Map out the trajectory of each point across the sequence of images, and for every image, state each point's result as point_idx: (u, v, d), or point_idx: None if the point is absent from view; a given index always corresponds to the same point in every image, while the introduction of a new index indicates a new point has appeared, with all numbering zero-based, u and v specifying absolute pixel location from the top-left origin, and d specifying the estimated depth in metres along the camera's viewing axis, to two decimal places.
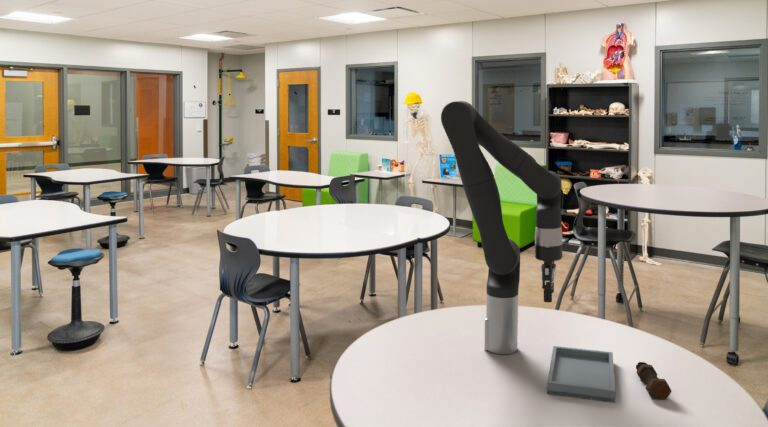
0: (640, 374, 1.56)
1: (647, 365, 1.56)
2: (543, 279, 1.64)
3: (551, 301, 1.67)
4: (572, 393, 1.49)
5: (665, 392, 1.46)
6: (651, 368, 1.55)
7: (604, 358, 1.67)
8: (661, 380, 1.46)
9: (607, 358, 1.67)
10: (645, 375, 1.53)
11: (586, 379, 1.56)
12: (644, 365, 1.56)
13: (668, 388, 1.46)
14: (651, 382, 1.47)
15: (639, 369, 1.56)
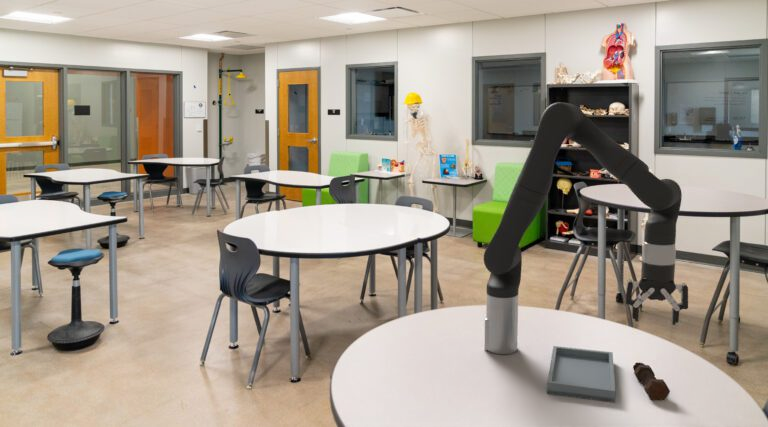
0: (638, 375, 1.56)
1: (645, 366, 1.56)
2: (687, 298, 1.46)
3: None
4: (572, 393, 1.49)
5: (664, 392, 1.46)
6: (649, 368, 1.55)
7: (604, 358, 1.67)
8: (659, 381, 1.46)
9: (607, 358, 1.67)
10: (643, 376, 1.53)
11: (586, 379, 1.56)
12: (642, 366, 1.56)
13: (667, 388, 1.46)
14: (650, 383, 1.46)
15: (637, 370, 1.56)
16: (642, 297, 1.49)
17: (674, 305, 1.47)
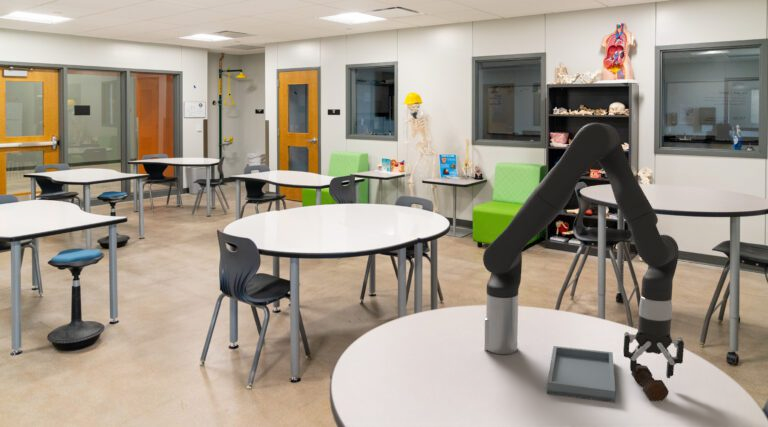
0: (635, 375, 1.55)
1: (642, 366, 1.56)
2: None
3: None
4: (572, 393, 1.49)
5: (663, 393, 1.46)
6: (646, 369, 1.55)
7: (604, 358, 1.67)
8: (658, 381, 1.46)
9: (607, 358, 1.67)
10: (641, 376, 1.53)
11: (586, 379, 1.56)
12: (639, 366, 1.56)
13: (665, 389, 1.45)
14: (648, 384, 1.46)
15: None
16: (639, 350, 1.52)
17: (669, 359, 1.50)
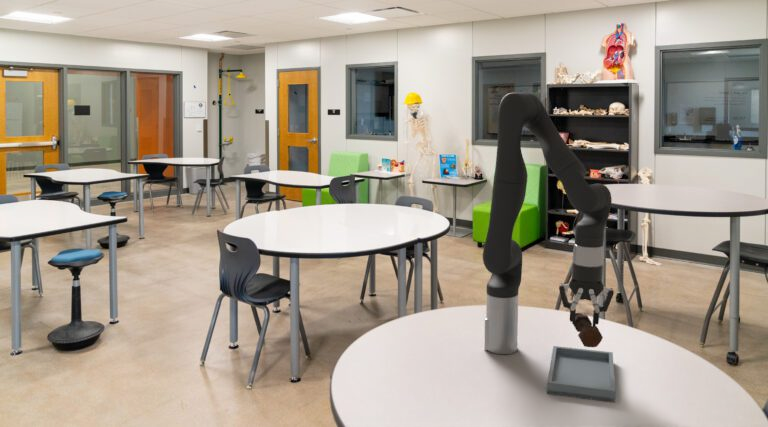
0: (575, 324, 1.59)
1: (582, 315, 1.59)
2: None
3: None
4: (572, 393, 1.49)
5: (596, 338, 1.49)
6: (586, 318, 1.58)
7: (604, 358, 1.67)
8: (593, 327, 1.49)
9: (607, 358, 1.67)
10: (579, 324, 1.56)
11: (586, 379, 1.56)
12: (579, 315, 1.59)
13: (599, 335, 1.49)
14: (583, 329, 1.49)
15: (575, 319, 1.59)
16: (575, 299, 1.55)
17: (594, 307, 1.54)
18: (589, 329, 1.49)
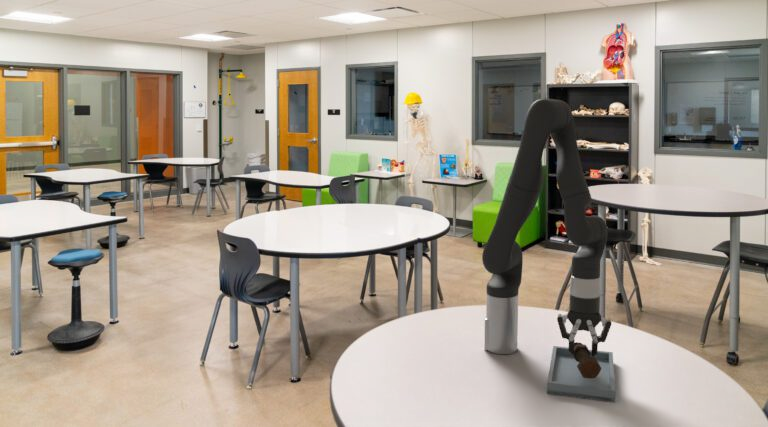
0: (574, 354, 1.60)
1: (581, 345, 1.60)
2: None
3: None
4: (572, 393, 1.49)
5: (595, 369, 1.50)
6: (585, 348, 1.59)
7: (604, 358, 1.67)
8: (591, 358, 1.50)
9: (607, 358, 1.67)
10: (578, 354, 1.57)
11: (586, 379, 1.56)
12: (578, 345, 1.60)
13: (598, 366, 1.50)
14: (582, 360, 1.51)
15: (574, 349, 1.61)
16: (573, 330, 1.56)
17: (592, 338, 1.56)
18: (588, 360, 1.50)
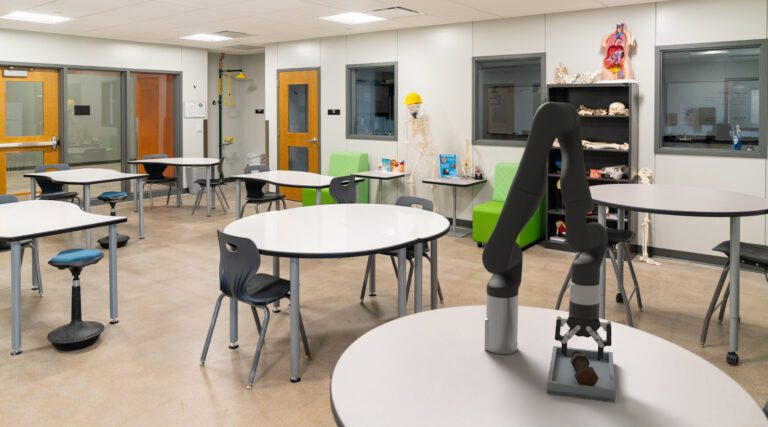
0: (573, 363, 1.60)
1: (580, 354, 1.61)
2: None
3: None
4: (572, 393, 1.49)
5: (592, 379, 1.51)
6: (583, 357, 1.60)
7: (604, 358, 1.67)
8: (588, 368, 1.51)
9: (607, 358, 1.67)
10: (577, 363, 1.58)
11: None
12: (577, 354, 1.61)
13: (595, 375, 1.50)
14: (579, 370, 1.51)
15: (572, 358, 1.61)
16: (569, 334, 1.57)
17: (599, 342, 1.55)
18: (585, 370, 1.51)
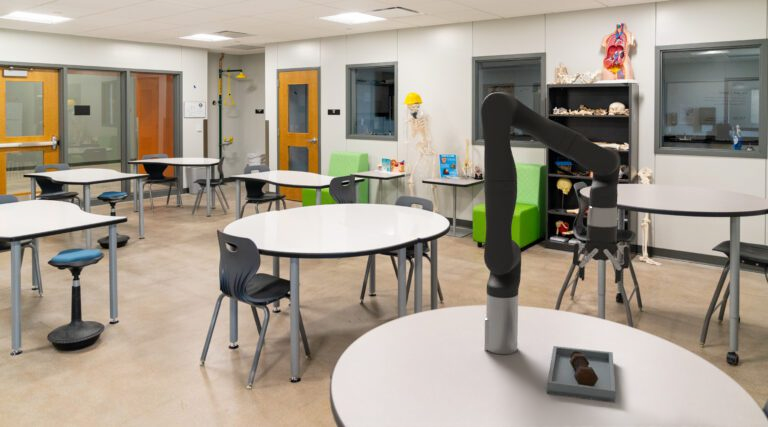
0: (572, 363, 1.60)
1: (579, 354, 1.61)
2: (628, 257, 1.58)
3: None
4: (572, 393, 1.49)
5: (592, 379, 1.51)
6: (583, 357, 1.60)
7: (604, 358, 1.67)
8: (588, 368, 1.51)
9: (607, 358, 1.67)
10: (576, 364, 1.58)
11: None
12: (576, 354, 1.61)
13: (595, 376, 1.50)
14: (579, 370, 1.51)
15: (572, 358, 1.61)
16: (587, 257, 1.61)
17: (616, 265, 1.59)
18: (584, 370, 1.51)
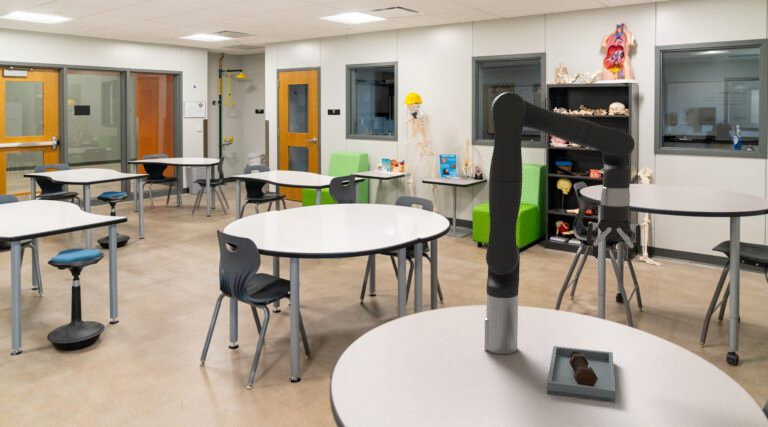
0: (572, 363, 1.60)
1: (579, 354, 1.61)
2: (640, 236, 1.65)
3: None
4: (572, 393, 1.49)
5: (592, 379, 1.50)
6: (582, 357, 1.60)
7: (604, 358, 1.67)
8: (588, 368, 1.51)
9: (607, 358, 1.67)
10: (576, 364, 1.58)
11: None
12: (576, 354, 1.61)
13: (594, 376, 1.50)
14: (578, 370, 1.51)
15: (571, 358, 1.61)
16: (601, 236, 1.68)
17: (629, 243, 1.66)
18: (584, 370, 1.50)
